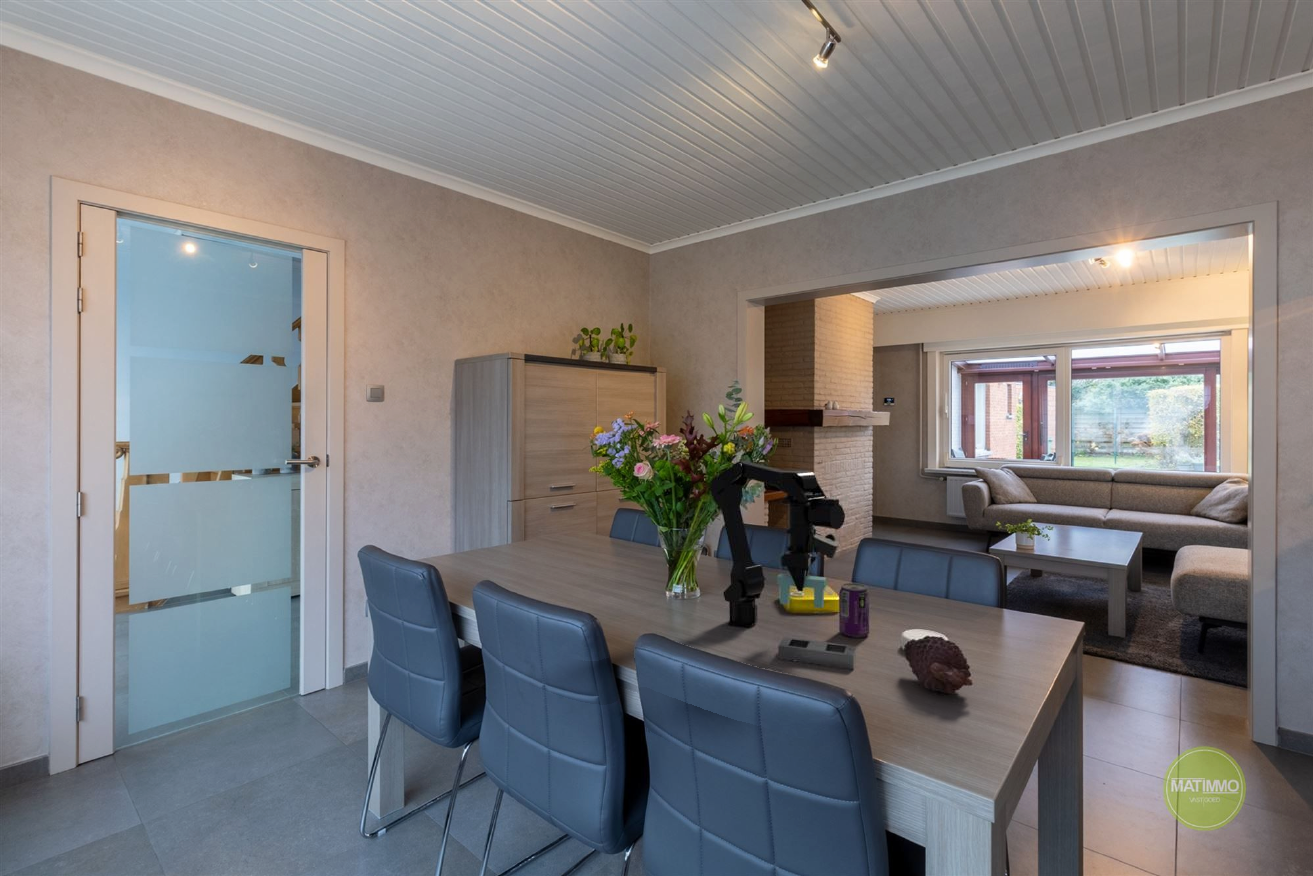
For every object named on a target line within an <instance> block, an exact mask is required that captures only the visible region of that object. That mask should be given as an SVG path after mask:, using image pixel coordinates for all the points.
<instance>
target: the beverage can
mask: <svg viewBox="0 0 1313 876" xmlns="http://www.w3.org/2000/svg"><path fill="white" fill-rule="evenodd" d="M838 596H839V613H838V617H839V618H838V621H839V622H838V623H839V624H838V625H839V627H838V628H839V629H838V630H839V632H840V633H842V634H843V635H845V636H847V635H848V636H847V637H849V636H852V637H851V638H863V637H865V636H867V635H869V634H870V594H869V591H868V586H867V585H865V584H862V583H856V582H845V583H841V585H840V590H839V592H838Z"/></svg>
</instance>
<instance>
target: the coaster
mask: <svg viewBox="0 0 1313 876" xmlns="http://www.w3.org/2000/svg"><path fill="white" fill-rule="evenodd" d="M926 636H930V637H931V636H934V637H942V638H943V639H945V640H948V641H950V640H949V638H948V637H946V636H945V634H943V633H940V632H937V631H933V630H929V629H928V630H927V629H920V628H919V629H917V628H916V629H907V630H905V631H903V632H902V633H901V635H900V637H901V641H900V642H901V644H900V647H901V648H902V649H901V650H903V651H904V648H905V647H904V646H905V644H907V642H908V641H911V640H912V639H915V640H918V639H923V638H924V637H926Z"/></svg>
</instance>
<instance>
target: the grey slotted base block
mask: <svg viewBox="0 0 1313 876" xmlns="http://www.w3.org/2000/svg"><path fill="white" fill-rule="evenodd" d="M777 652H778V654H777V655H778V658H783V659H788V660H787V661H789V660H796V661H801V662H800V663H803V662H808V663H807V664H810V663H813V664H812V665H817V664H821V665H820V666H824V665H826V666H825V667H831V666H834V667H833V668H839V669H844V668H846V670H851V669H853V670H855V666H856V661H857V646H856V645H849V644H842V643H833V642H825V641H818V640H811V639H803V638H795V637H788V636H783V638H782V639H781V641H780V642H779V644H778V651H777ZM778 658H777V659H778ZM796 661H795V662H796ZM853 670H852V671H853Z"/></svg>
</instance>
